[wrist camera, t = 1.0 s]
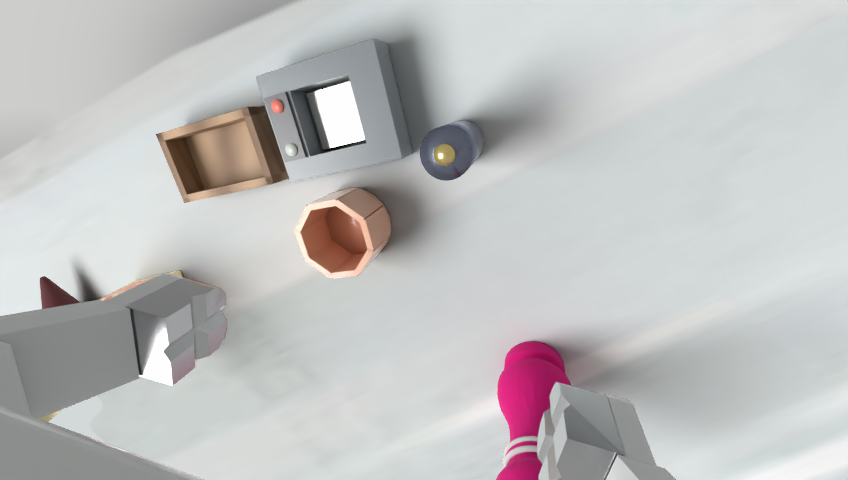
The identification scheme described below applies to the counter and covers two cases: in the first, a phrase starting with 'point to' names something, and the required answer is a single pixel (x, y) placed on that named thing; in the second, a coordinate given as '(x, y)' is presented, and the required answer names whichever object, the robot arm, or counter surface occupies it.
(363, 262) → the cup
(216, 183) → the trough
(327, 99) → the plate
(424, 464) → the counter surface
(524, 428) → the pepper mill
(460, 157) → the cell
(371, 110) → the grey rectangular frame box
